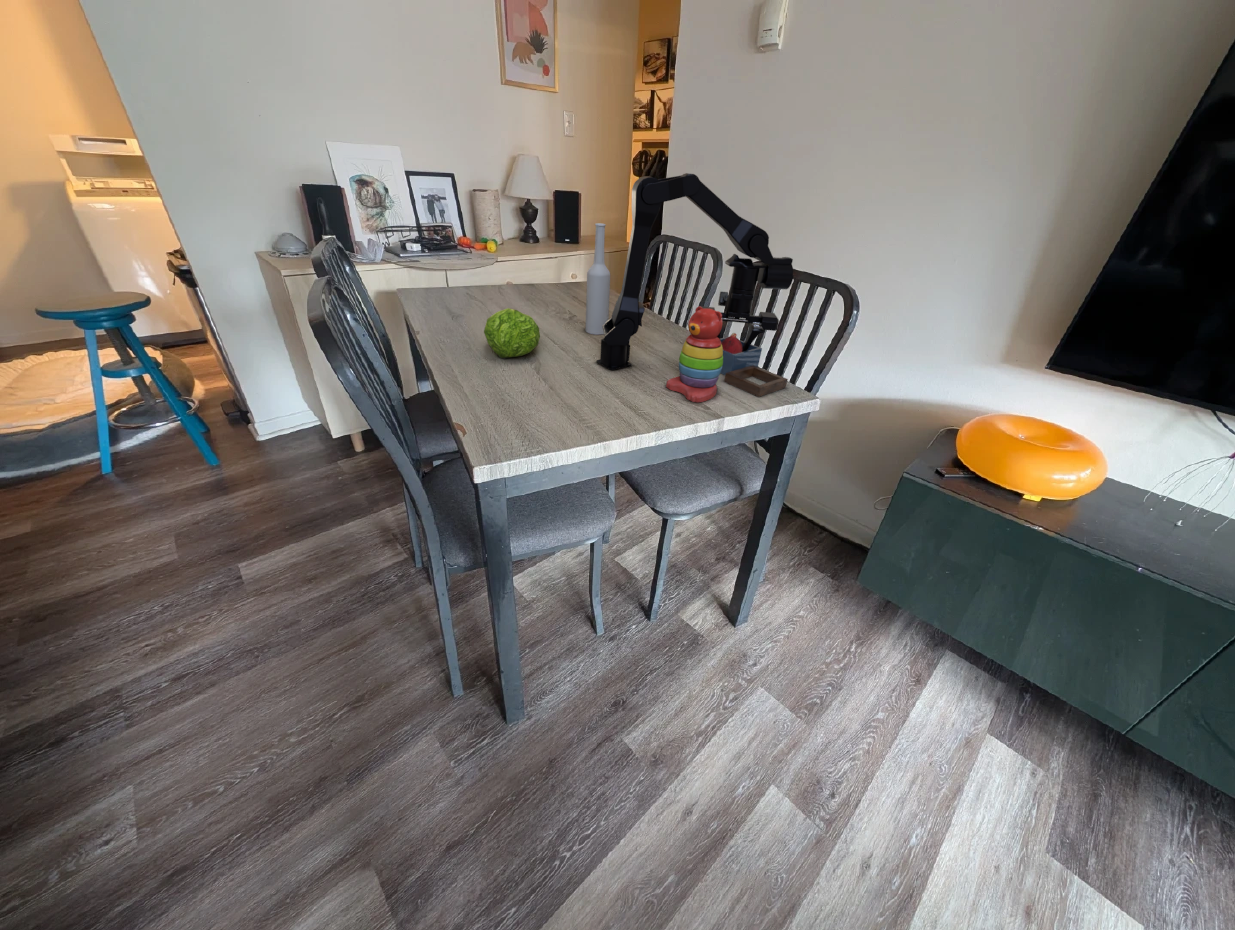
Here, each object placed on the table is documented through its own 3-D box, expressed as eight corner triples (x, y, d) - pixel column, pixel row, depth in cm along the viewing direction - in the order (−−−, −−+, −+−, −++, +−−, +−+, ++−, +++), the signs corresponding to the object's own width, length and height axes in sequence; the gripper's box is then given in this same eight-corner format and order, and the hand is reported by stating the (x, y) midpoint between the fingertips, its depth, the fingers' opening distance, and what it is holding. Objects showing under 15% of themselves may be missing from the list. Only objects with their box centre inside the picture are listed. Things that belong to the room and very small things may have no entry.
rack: (758, 397, 104) (760, 387, 103) (724, 381, 110) (725, 372, 109) (785, 387, 109) (787, 379, 108) (751, 373, 116) (753, 365, 114)
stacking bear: (661, 386, 106) (671, 304, 96) (694, 377, 111) (706, 300, 102) (695, 404, 99) (709, 318, 89) (728, 394, 104) (745, 312, 94)
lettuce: (534, 313, 131) (494, 285, 124) (552, 335, 111) (506, 303, 104) (511, 348, 134) (470, 323, 127) (524, 376, 114) (477, 348, 107)
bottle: (607, 335, 135) (612, 226, 120) (584, 333, 135) (586, 224, 120) (608, 328, 140) (613, 223, 125) (586, 327, 140) (588, 221, 125)
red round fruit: (733, 370, 115) (739, 338, 111) (712, 364, 118) (717, 332, 114) (743, 364, 119) (749, 333, 115) (722, 358, 122) (728, 328, 118)
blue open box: (730, 377, 113) (734, 355, 110) (698, 363, 119) (702, 342, 116) (757, 369, 118) (762, 348, 115) (725, 356, 125) (729, 336, 122)
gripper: (778, 283, 115) (763, 346, 123) (701, 277, 116) (692, 339, 124) (786, 294, 105) (769, 361, 114) (702, 286, 107) (692, 353, 115)
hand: (729, 353), depth 117 cm, fingers closed on red round fruit, 6 cm apart
